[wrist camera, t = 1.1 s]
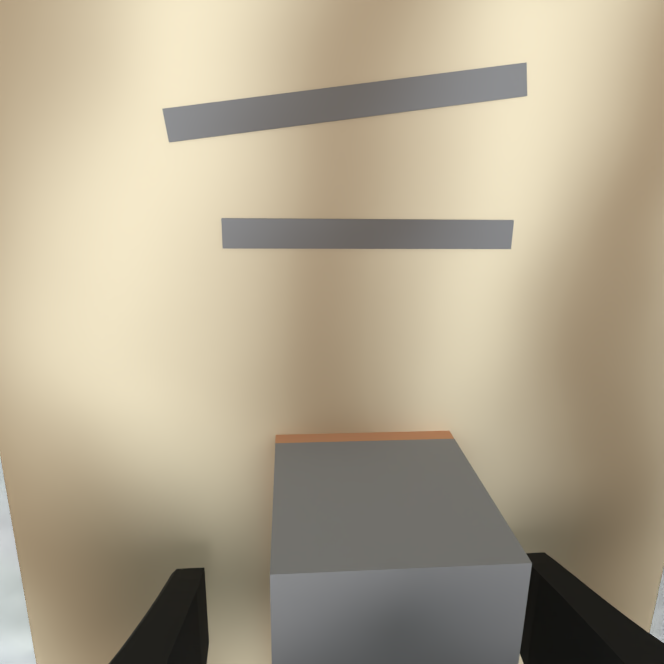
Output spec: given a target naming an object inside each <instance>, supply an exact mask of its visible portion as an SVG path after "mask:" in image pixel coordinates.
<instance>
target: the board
mask: <svg viewBox="0 0 664 664" xmlns="http://www.w3.org/2000/svg"><path fill="white" fill-rule="evenodd" d="M413 431H450V432H451V434H452V436H453V437H454V439H455V440H456V442H457V444H458V445H459V447H460V448H461V450H462V452H463V453H464V455H465V456H466V458H467V460H468V461H469V463H470V464H471V466H472V468H473V469H474V471H475V473H476V474H477V476H478V477H479V479H480V481H481V482H482V484H483V485H484V487H485V489H486V490H487V492H488V493H489V495H490V497H491V498H492V500H493V501H494V503H495V505H496V506H497V508H498V509H499V511H500V513H501V514H502V516H503V517H504V519H505V521H506V522H507V524H508V525H509V527H510V529H511V530H512V532H513V533H514V535H515V537H516V538H517V540H518V541H519V543H520V545H521V546H522V548H523V549H524V551H525V553H540V552H545V553H546V554H547V555H549V556H550V557H551V558H553V559H554V560H555V561H557V562H558V563H559V564H560V565H562V566H563V567H564V568H565V569H567V570H568V571H569V572H571V573H572V574H573V575H574V576H576V577H577V578H578V579H579V580H580V581H582V582H583V583H584V584H585V585H587V586H588V587H589V588H591V589H592V590H593V591H594V592H596V593H597V594H598V595H599V596H601V597H602V598H603V599H604V600H606V601H607V602H608V603H610V604H611V605H612V606H613V607H615V608H616V609H617V610H619V611H620V612H621V613H623V614H624V615H625V616H626V617H628V618H629V619H630V620H632V621H633V622H635V623H636V624H637V625H639V626H640V627H641V628H643V629H644V630H645V631H647V632H648V633H649V632H650V627H651V623H652V618H653V614H654V609H655V604H656V600H657V595H658V590H659V586H660V581H661V577H662V572H663V567H664V0H0V456H1V462H2V468H3V474H4V480H5V485H6V491H7V497H8V503H9V508H10V514H11V520H12V526H13V531H14V537H15V543H16V549H17V554H18V560H19V566H20V572H21V577H22V583H23V589H24V595H25V600H26V606H27V612H28V618H29V623H30V629H31V635H32V641H33V646H34V652H35V658H36V664H109V663H110V661H111V660H112V659H113V658H114V656H115V655H116V654H117V653H118V651H119V650H120V649H121V647H122V646H123V645H124V643H125V642H126V641H127V639H128V638H129V637H130V635H131V634H132V632H133V631H134V630H135V628H136V627H137V626H138V624H139V623H140V621H141V620H142V619H143V617H144V616H145V614H146V613H147V611H148V610H149V608H150V607H151V605H152V604H153V603H154V601H155V599H156V598H157V596H158V595H159V593H160V592H161V590H162V589H163V587H164V585H165V584H166V582H167V581H168V579H169V577H170V575H171V574H172V573H173V572H174V571H175V570H176V569H182V568H205V583H206V600H207V616H208V632H209V648H208V657H207V664H272V651H271V607H270V558H271V534H272V510H273V486H274V462H275V438H276V435H289V434H330V433H372V432H413ZM518 664H523V661H522V658H521V656H519V663H518Z"/></svg>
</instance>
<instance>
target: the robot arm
mask: <svg viewBox="0 0 664 664" xmlns="http://www.w3.org/2000/svg"><path fill="white" fill-rule="evenodd" d="M526 554H527V556H528V557H529V559H530V561H531V562H532V568H531V575H530V582H529V590H528V597H527V604H526V612H525V619H524V626H523V634H522V641H521V648H520V656H521V658H522V661H523V664H664V643H662V642H661V641H660V640H658V639H657V638H655V637H654V636H652V635H651V634H650V633H648V632H647V631H645V630H644V629H643V628H641V627H640V626H639V625H637V624H636V623H635V622H633V621H632V620H630V619H629V618H628V617H626V616H625V615H624V614H623V613H621V612H620V611H619V610H617V609H616V608H615V607H613V606H612V605H611V604H610V603H608V602H607V601H606V600H604V599H603V598H602V597H601V596H599V595H598V594H597V593H596V592H594V591H593V590H592V589H591V588H589V587H588V586H587V585H585V584H584V583H583V582H582V581H580V580H579V579H578V578H577V577H576V576H574V575H573V574H572V573H571V572H569V571H568V570H567V569H565V568H564V567H563V566H562V565H560V564H559V563H558V562H557V561H555V560H554V559H553V558H551V557H550V556H549V555H547V554H546V553H545V552H540V553H526ZM208 648H209V632H208V616H207V600H206V583H205V568H182V569H176V570H175V571H174V572H173V573H172V574H171V575H170V577H169V579H168V581H167V582H166V584H165V585H164V587H163V589H162V590H161V592H160V593H159V595H158V596H157V598H156V599H155V601H154V603H153V604H152V605H151V607H150V608H149V610H148V611H147V613H146V614H145V616H144V617H143V619H142V620H141V621H140V623H139V624H138V626H137V627H136V628H135V630H134V631H133V632H132V634H131V635H130V637H129V638H128V639H127V641H126V642H125V643H124V645H123V646H122V647H121V649H120V650H119V651H118V653H117V654H116V655H115V656H114V658H113V659H112V660H111V661H110V663H109V664H207V657H208Z"/></svg>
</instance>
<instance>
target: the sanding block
mask: <svg viewBox="0 0 664 664" xmlns="http://www.w3.org/2000/svg"><path fill="white" fill-rule="evenodd" d="M531 568H532V562H531V561H530V559H529V557H528V556H527V554H526V553H525V551H524V549H523V548H522V546H521V545H520V543H519V541H518V540H517V538H516V537H515V535H514V533H513V532H512V530H511V529H510V527H509V525H508V524H507V522H506V521H505V519H504V517H503V516H502V514H501V513H500V511H499V509H498V508H497V506H496V505H495V503H494V501H493V500H492V498H491V497H490V495H489V493H488V492H487V490H486V489H485V487H484V485H483V484H482V482H481V481H480V479H479V477H478V476H477V474H476V473H475V471H474V469H473V468H472V466H471V464H470V463H469V461H468V460H467V458H466V456H465V455H464V453H463V452H462V450H461V448H460V447H459V445H458V444H457V442H456V440H455V439H454V437H453V436H452V434H451V432H450V431H413V432H372V433H330V434H289V435H276V438H275V462H274V486H273V510H272V534H271V558H270V607H271V651H272V664H518V663H519V656H520V648H521V641H522V634H523V626H524V619H525V612H526V604H527V597H528V590H529V582H530V575H531Z"/></svg>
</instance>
